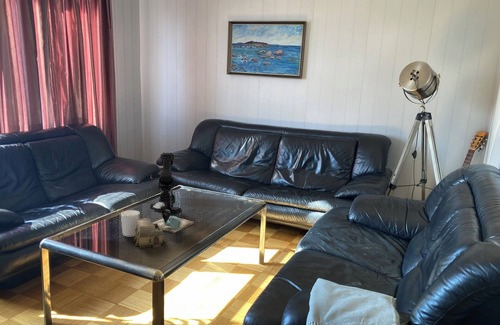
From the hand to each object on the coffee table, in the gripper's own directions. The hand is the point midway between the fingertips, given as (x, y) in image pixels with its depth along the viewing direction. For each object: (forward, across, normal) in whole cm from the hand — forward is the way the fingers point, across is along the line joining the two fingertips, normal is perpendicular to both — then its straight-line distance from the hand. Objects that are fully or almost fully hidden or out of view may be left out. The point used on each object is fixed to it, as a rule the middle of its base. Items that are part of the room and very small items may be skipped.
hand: (165, 222), depth 229 cm
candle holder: (+4, -10, -18) cm, 21 cm away
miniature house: (+4, +7, -21) cm, 22 cm away
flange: (+2, +2, +4) cm, 5 cm away
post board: (+3, -1, +6) cm, 7 cm away
